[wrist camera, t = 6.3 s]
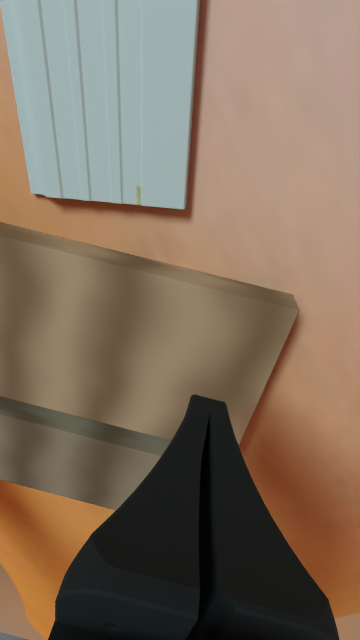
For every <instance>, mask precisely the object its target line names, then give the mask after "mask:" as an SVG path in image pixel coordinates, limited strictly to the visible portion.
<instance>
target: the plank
mask: <svg viewBox="0 0 360 640" xmlns="http://www.w3.org/2000/svg"><path fill="white" fill-rule="evenodd" d="M298 312H299V309H298V306H297V304H296V301H295V299H294V296H293V295H292V294H288V293H284V292H280V291H276V290H271V289H267V288H263V287H259V286H255V285H251V284H247V283H243V282H239V281H235V280H231V279H227V278H223V277H219V276H215V275H211V274H207V273H203V272H199V271H195V270H191V269H187V268H183V267H179V266H175V265H171V264H166V263H162V262H158V261H154V260H150V259H146V258H142V257H138V256H134V255H130V254H126V253H122V252H118V251H114V250H110V249H106V248H102V247H98V246H94V245H90V244H86V243H82V242H78V241H74V240H70V239H66V238H61V237H57V236H53V235H49V234H45V233H41V232H37V231H33V230H29V229H25V228H21V227H17V226H13V225H9V224H5V223H1V222H0V396H1V397H5V398H9V399H13V400H17V401H21V402H25V403H29V404H32V405H36V406H40V407H44V408H48V409H52V410H56V411H59V412H63V413H67V414H71V415H75V416H79V417H83V418H87V419H90V420H94V421H98V422H102V423H106V424H110V425H114V426H118V427H121V428H125V429H129V430H133V431H137V432H141V433H145V434H148V435H152V436H156V437H160V438H164V439H168V440H172V439H173V437H174V436H175V434H176V432H177V430H178V428H179V427H180V425H181V423H182V421H183V419H184V417H185V414H186V411H187V407H188V404H189V401H190V398H191V396H192V395H194V394H195V395H199V396H203V397H207V398H211V399H215V400H219V401H223V402H225V403H226V405H227V409H228V413H229V417H230V421H231V424H232V428H233V431H234V434H235V437H236V440H237V443H238V445H239V444H240V442H241V439H242V437H243V435H244V433H245V431H246V428H247V426H248V424H249V422H250V419H251V417H252V415H253V413H254V410H255V408H256V406H257V404H258V401H259V399H260V397H261V395H262V392H263V390H264V388H265V386H266V384H267V381H268V379H269V377H270V375H271V372H272V370H273V368H274V366H275V363H276V361H277V359H278V357H279V354H280V352H281V350H282V348H283V346H284V343H285V341H286V339H287V337H288V334H289V332H290V330H291V328H292V325H293V323H294V321H295V319H296V316H297V314H298Z"/></svg>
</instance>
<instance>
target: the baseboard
mask: <svg viewBox="0 0 360 640" xmlns="http://www.w3.org/2000/svg"><path fill="white" fill-rule="evenodd" d="M0 6H1V12H2V18H3V24H4V30H5V36H6V42H7V49H8V55H9V61H10V67H11V73H12V79H13V85H14V91H15V98H16V104H17V110H18V116H19V122H20V128H21V134H22V140H23V147H24V153H25V159H26V165H27V171H28V177H29V183H30V190H31V193H33V194H41V195H45V196H46V197H52V198H67V199H78V200H85V201H101V202H111V203H119V204H134V205H142V206H152V207H163V208H174V209H185V208H186V204H187V190H188V175H189V160H190V145H191V130H192V115H193V100H194V85H195V70H196V56H197V41H198V26H199V11H200V0H0Z"/></svg>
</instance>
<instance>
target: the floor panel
mask: <svg viewBox="0 0 360 640" xmlns="http://www.w3.org/2000/svg"><path fill="white" fill-rule="evenodd" d="M171 441H172V440H168V439H164V438H160V437H156V436H152V435H148V434H145V433H141V432H137V431H133V430H129V429H125V428H121V427H118V426H114V425H110V424H106V423H102V422H98V421H94V420H90V419H87V418H83V417H79V416H75V415H71V414H67V413H63V412H59V411H56V410H52V409H48V408H44V407H40V406H36V405H32V404H29V403H25V402H21V401H17V400H13V399H9V398H5V397H1V396H0V480H3V481H7V482H11V483H15V484H18V485H22V486H26V487H30V488H33V489H37V490H41V491H45V492H49V493H52V494H56V495H60V496H64V497H68V498H71V499H75V500H79V501H83V502H87V503H90V504H94V505H98V506H102V507H106V508H109V509H113V510H117V509H118V508H119V507H120V506H121V505H122V504H123V502H124V501H125V500H126V499H127V498H128V497H129V496H130V495H131V494H132V493H133V492H134V491H135V489H136V488H137V487H138V486H139V485H140V484H141V482H142V481H143V480H144V479H145V477H146V476H147V475H148V474H149V472H150V471H151V470H152V468H153V467H154V466H155V464H156V463H157V462H158V460H159V459H160V457H161V456H162V455H163V453H164V452H165V450H166V449H167V447H168V445H169V444H170V442H171Z"/></svg>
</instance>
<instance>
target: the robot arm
mask: <svg viewBox="0 0 360 640" xmlns="http://www.w3.org/2000/svg"><path fill="white" fill-rule="evenodd" d="M0 640H27V639H23V638H20V637H16V636H12V635H9V634H5V633H1V632H0ZM48 640H339V636H338V631H337V627H336V624H335V620H334V617H333V613H332V610H331V607H330V604H329V600H328V598H327V597H326V596H325V594H324V593H323V592H322V590H321V589H320V588H319V587H318V585H317V584H316V583H315V581H314V580H313V579H312V577H311V576H310V575H309V573H308V572H307V571H306V569H305V568H304V566H303V565H302V564H301V562H300V561H299V559H298V558H297V556H296V555H295V553H294V552H293V550H292V549H291V547H290V546H289V544H288V543H287V541H286V539H285V538H284V536H283V535H282V533H281V531H280V530H279V528H278V526H277V525H276V523H275V522H274V520H273V518H272V517H271V515H270V513H269V511H268V509H267V508H266V506H265V504H264V502H263V500H262V498H261V496H260V494H259V492H258V490H257V488H256V486H255V484H254V482H253V480H252V478H251V475H250V473H249V471H248V468H247V466H246V464H245V461H244V459H243V456H242V454H241V451H240V448H239V445H238V443H237V440H236V437H235V434H234V431H233V428H232V424H231V421H230V417H229V413H228V409H227V405H226V403H225V402H223V401H219V400H215V399H211V398H207V397H203V396H199V395H195V394H194V395H192V396H191V398H190V401H189V404H188V407H187V411H186V414H185V417H184V419H183V421H182V423H181V425H180V427H179V428H178V430H177V432H176V434H175V436H174V437H173V439H172V441H171V442H170V444H169V445H168V447H167V449H166V450H165V452H164V453H163V455H162V456H161V457H160V459H159V460H158V462H157V463H156V464H155V466H154V467H153V468H152V470H151V471H150V472H149V474H148V475H147V476H146V477H145V479H144V480H143V481H142V482H141V484H140V485H139V486H138V487H137V488H136V489H135V491H134V492H133V493H132V494H131V495H130V496H129V497H128V498H127V499H126V500H125V501H124V502H123V504H122V505H121V506H120V507H119V508H118V509H117V510H116V511H115V512H114V513H113V514H112V515H111V516H110V517H109V518H108V519H107V520H106V521H105V522H104V523H103V524H102V525H101V526H99V527H98V528H97V529H96V530H95V531H94V532H93V533H92V534H91V536H90V537H89V539H88V540H87V542H86V543H85V544H84V546H83V547H82V548H81V550H80V551H79V553H78V554H77V556H76V557H75V559H74V560H73V562H72V563H71V565H70V567H69V568H68V570H67V572H66V574H65V576H64V579H63V581H62V584H61V587H60V590H59V593H58V595H57V598H56V601H55V622H54V625H53V628H52V630H51V633H50V636H49V639H48Z"/></svg>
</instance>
